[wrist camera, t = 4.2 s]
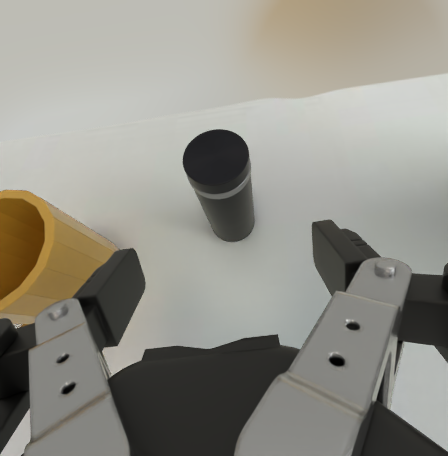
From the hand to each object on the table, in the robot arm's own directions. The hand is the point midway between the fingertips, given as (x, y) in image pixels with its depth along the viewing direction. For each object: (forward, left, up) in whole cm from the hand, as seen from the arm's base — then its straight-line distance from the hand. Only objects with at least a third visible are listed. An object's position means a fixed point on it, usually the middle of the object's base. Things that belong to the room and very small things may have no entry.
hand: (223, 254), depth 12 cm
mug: (+14, -4, -10) cm, 18 cm away
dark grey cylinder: (-1, -6, -10) cm, 12 cm away
